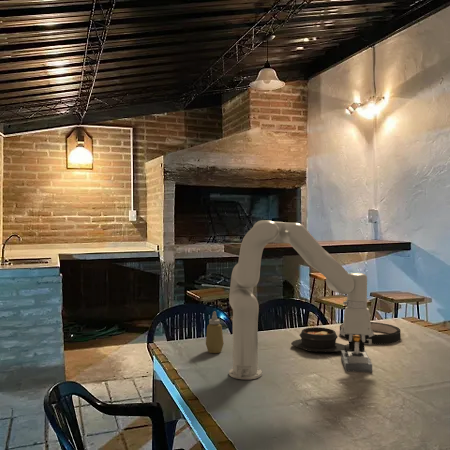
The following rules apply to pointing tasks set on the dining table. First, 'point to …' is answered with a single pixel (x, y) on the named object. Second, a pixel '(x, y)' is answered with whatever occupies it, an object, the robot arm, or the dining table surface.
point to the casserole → (318, 340)
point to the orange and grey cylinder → (356, 345)
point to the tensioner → (356, 361)
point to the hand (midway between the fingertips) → (356, 350)
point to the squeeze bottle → (214, 335)
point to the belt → (381, 338)
